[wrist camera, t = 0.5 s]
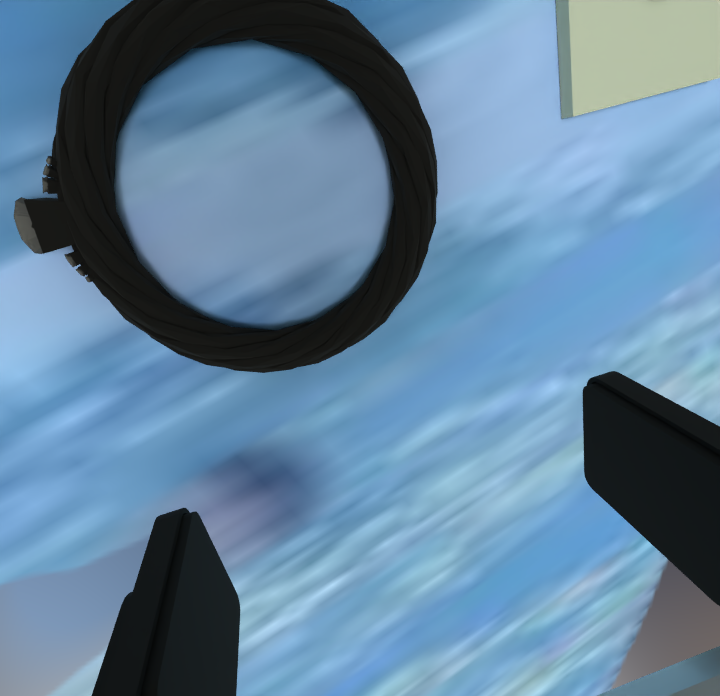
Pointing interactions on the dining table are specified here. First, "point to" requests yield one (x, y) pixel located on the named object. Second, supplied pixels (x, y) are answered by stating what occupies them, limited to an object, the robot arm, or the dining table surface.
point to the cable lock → (97, 168)
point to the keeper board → (633, 49)
